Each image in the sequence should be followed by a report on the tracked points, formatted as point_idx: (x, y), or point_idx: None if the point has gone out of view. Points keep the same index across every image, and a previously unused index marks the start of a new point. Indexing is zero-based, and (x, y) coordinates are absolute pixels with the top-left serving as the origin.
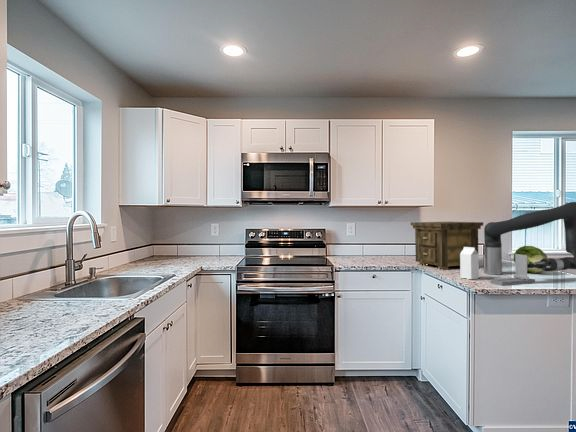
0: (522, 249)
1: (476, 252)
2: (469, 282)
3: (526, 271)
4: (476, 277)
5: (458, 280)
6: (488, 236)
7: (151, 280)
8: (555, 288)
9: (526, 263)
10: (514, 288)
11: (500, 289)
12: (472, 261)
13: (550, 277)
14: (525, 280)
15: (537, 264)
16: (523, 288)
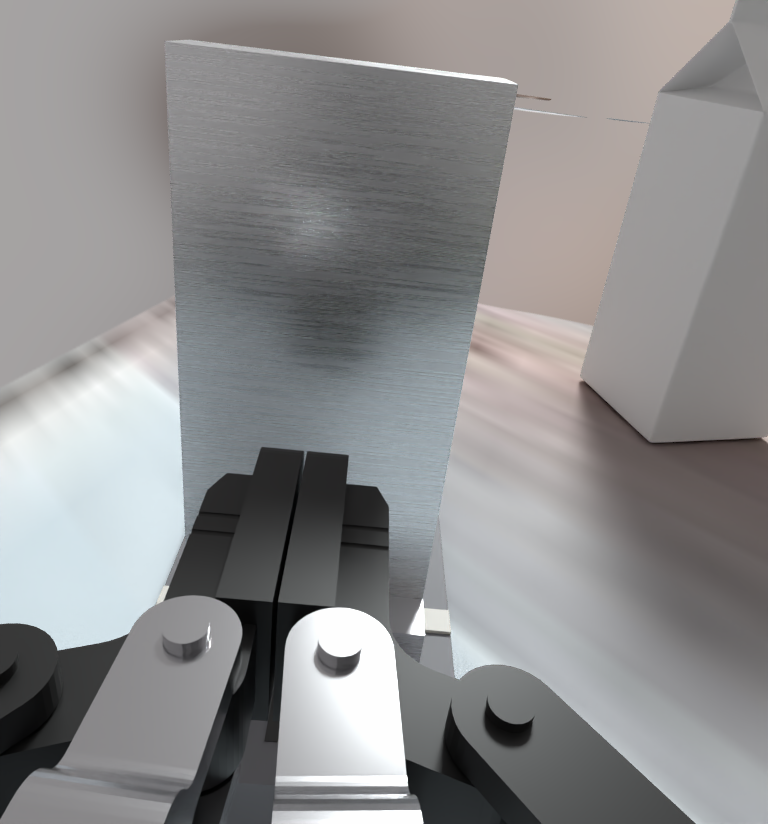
0: None
1: (760, 83)
2: (478, 331)
3: (189, 469)
4: (629, 403)
5: (574, 331)
6: None
7: (618, 119)
8: None
9: (182, 292)
10: (110, 371)
11: (163, 309)
12: (646, 187)
13: None
14: (175, 562)
15: (36, 636)
16: (46, 411)
